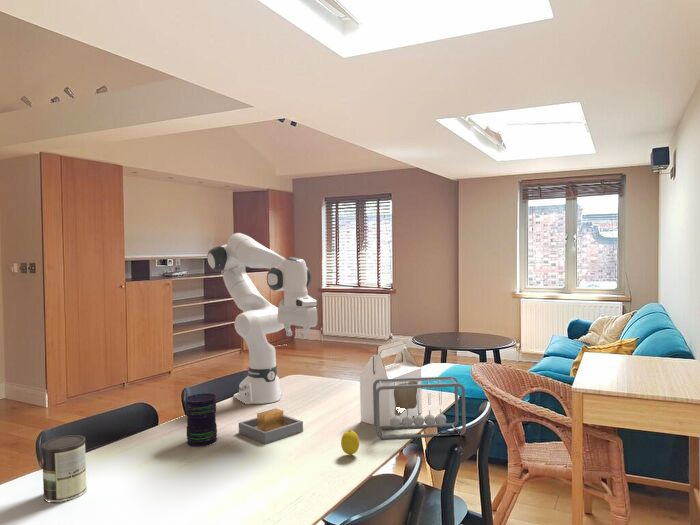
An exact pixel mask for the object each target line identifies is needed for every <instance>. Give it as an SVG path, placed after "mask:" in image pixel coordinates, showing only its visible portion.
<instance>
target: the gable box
mask: <svg viewBox="0 0 700 525" xmlns="http://www.w3.org/2000/svg"><path fill="white" fill-rule="evenodd" d="M406 345H407V343H406V342H405V343H404V341H403V340H401V339H400V340H396V341H392V342H389V343H385V344H381V345H378V346H377V347H376V354H373V355H372V356H371V357H370V358H369V360H368V362H367V363H366V365H365V366H364V368H363V370H362V371H361V373H360V374H359V393H360V395H359V396H360V397H359V400H360V402H359V403H360V422H362V423H366V424H370V425H373V424H374V407H373V384H374V382H375V381H376V380H378V379H399V378H422V368H421V366H420V364H419V363H418V362H417V360H416V359H415V357H414V356H413V354H412V353H411V351H410V350H409V349H408V348H407V346H406ZM393 355H396V356H395V358H394V361H393V363H391V364H388V365H384V362H383V358H386V357H390V356H393ZM417 382H418V383H417V384H422V381H417ZM381 384H382V386H389V385H394V382H388V383H381ZM407 384H408V385H414V384H416V381H413V382H406V385H407ZM395 385H405V382H395ZM379 387H381V385H380V383H377V385H376V390H377V389H378V388H379ZM422 392H423V391H422V388H410V389H397V393H396V389H395V391H394V389H385V390H380V392H379V413H380V426H391V424H390V419H391V417H393V416H395V410H396V407H400V408H405V409H406V410H404V411H403V412H402V413H400V412H399V413H398V411H397V410H398V409H397V410H396V416H398V417H399V418H400V420H401V424H403V423H402V419H403V417H404V416H406V415H407V404H406V396H407V399H408V415H409V416H411V417H412V418H414V417H415V415H417V414H418V413H420V414H422V413H423V398H422V395H423V394H422ZM417 395H418V403H417ZM421 412H422V413H421ZM413 416H414V417H413Z"/></svg>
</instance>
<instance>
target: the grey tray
mask: <svg viewBox="0 0 700 525" xmlns="http://www.w3.org/2000/svg"><path fill="white" fill-rule="evenodd" d="M283 417H284V426H283V427H280V428H277V429H273V430H270V431H267V432H264V431H262V430H259V429H258V428H257V417H254V418H251V419H248V420H242V421H240V422H238V434H241V435H244V436H245V435H246V436H245V437H249V439H253V440H255V441H257V442H259V443H263V444H265V445H267V444H269V443H272V442H275V441H278V440H281V439H285V438H287V437H290V436H291V437H292V436H293V435H297V434H299V433H302V432H304V421H302V420H300V419H296V418H294V417H291V416H288V415H285V414H283Z"/></svg>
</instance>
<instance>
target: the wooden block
mask: <svg viewBox="0 0 700 525" xmlns="http://www.w3.org/2000/svg"><path fill="white" fill-rule="evenodd" d="M283 415H284V410H282V409H278V408H276V407H275V408H272V409H268V410H265V411H261V412H257V413H256V418H257V428H258V429H259V430H262V431H264V432H267V431H270V430H273V429H277V428H280V427H283V426H284V417H283Z"/></svg>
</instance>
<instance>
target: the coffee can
mask: <svg viewBox="0 0 700 525" xmlns="http://www.w3.org/2000/svg"><path fill="white" fill-rule="evenodd" d="M40 448H41V457H42V458H41V463H42V483H43V484H42V486H43V488H42V489H43V500H44V499H45V500H47V501H50V502H60V503H62V502H61V501H65V502H68V501H67V500H69V501H72V500H75V499H77V498H79V496H80V497H81V496H83V495H84V494H85V493H86V492H87V491H88V486H87V463H86V462H87V461H86V437H85V436H84V435H82V434H81V435H80V434H70V435H69V434H68V435H62V436H58V437H54V438H51V439H48V440H47V441H45V442H43V443H42V444H41V446H40ZM74 498H75V499H74ZM71 499H72V500H71Z"/></svg>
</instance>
